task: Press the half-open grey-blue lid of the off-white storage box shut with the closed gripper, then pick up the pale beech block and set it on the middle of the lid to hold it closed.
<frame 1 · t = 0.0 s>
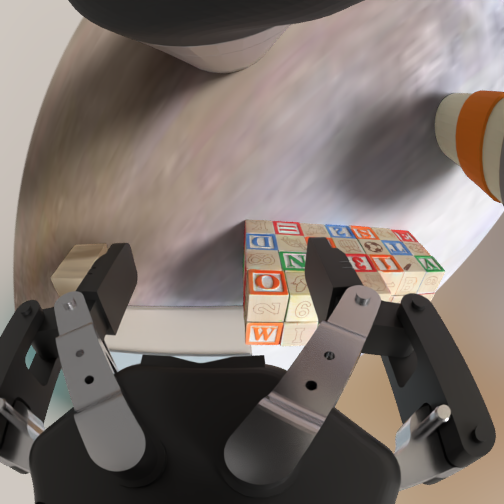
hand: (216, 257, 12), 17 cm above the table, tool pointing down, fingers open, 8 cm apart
storage box: (172, 338, 41), on the table
box lid: (156, 406, 29), point 13 cm above the table, hinge at 40.0°
reusable coffee cup: (458, 126, 24), on the table
stack of blocks: (330, 245, 33), on the table
beech block: (95, 260, 32), on the table
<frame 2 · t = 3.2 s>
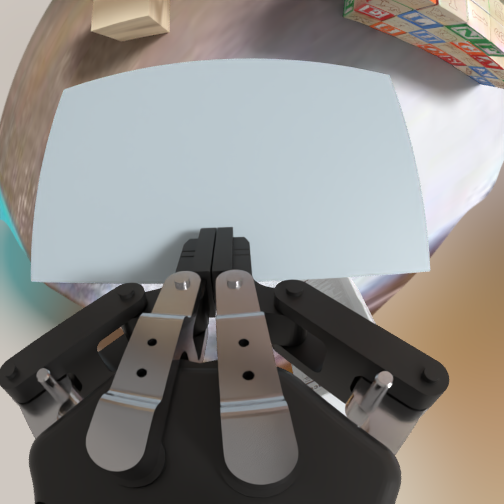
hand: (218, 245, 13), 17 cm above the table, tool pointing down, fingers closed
box lid: (218, 152, 15), point 13 cm above the table, hinge at 37.7°, touching gripper
supplement box: (321, 293, 38), on the table
stack of blocks: (424, 30, 19), on the table
beech block: (145, 16, 18), on the table
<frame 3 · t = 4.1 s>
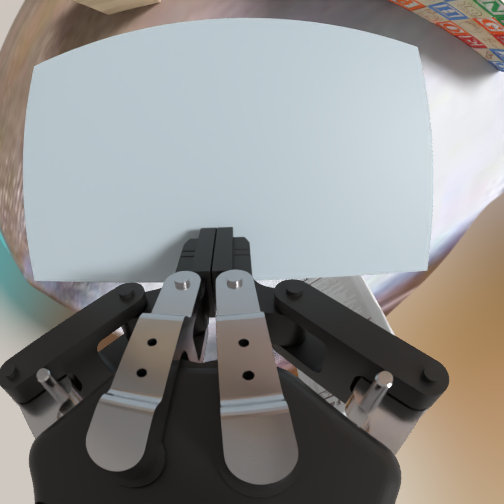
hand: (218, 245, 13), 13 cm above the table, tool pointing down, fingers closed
box lid: (215, 138, 13), point 11 cm above the table, hinge at 19.6°, touching gripper
supplement box: (331, 295, 34), on the table
stack of blocks: (442, 8, 14), on the table
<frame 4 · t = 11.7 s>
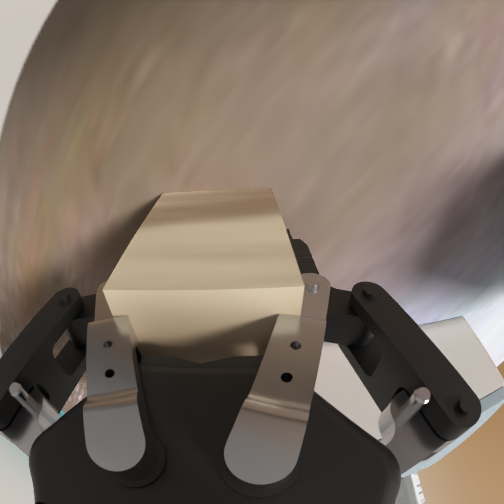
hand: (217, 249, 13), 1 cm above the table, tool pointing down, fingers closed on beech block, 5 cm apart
storage box: (325, 388, 22), on the table
box lid: (346, 479, 14), point 9 cm above the table, hinge at 2.8°
supplement box: (371, 436, 33), on the table
beech block: (219, 238, 14), on the table, touching gripper
when the fingers open (12 cm above the table, at t = 17.1 s): beech block drops 1 cm, resting on box lid.
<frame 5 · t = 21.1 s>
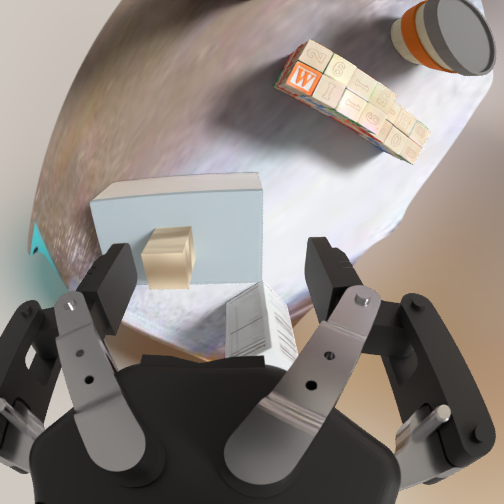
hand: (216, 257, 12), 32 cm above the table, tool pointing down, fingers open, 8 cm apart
storage box: (185, 215, 46), on the table
box lid: (175, 241, 38), point 9 cm above the table, hinge at 1.4°, touching beech block
reusable coffee cup: (411, 40, 30), on the table
supplement box: (257, 303, 57), on the table
stack of blocks: (341, 103, 37), on the table
beech block: (175, 243, 38), point 9 cm above the table, touching box lid
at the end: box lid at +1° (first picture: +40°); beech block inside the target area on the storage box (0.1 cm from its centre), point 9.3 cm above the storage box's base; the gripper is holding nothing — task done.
